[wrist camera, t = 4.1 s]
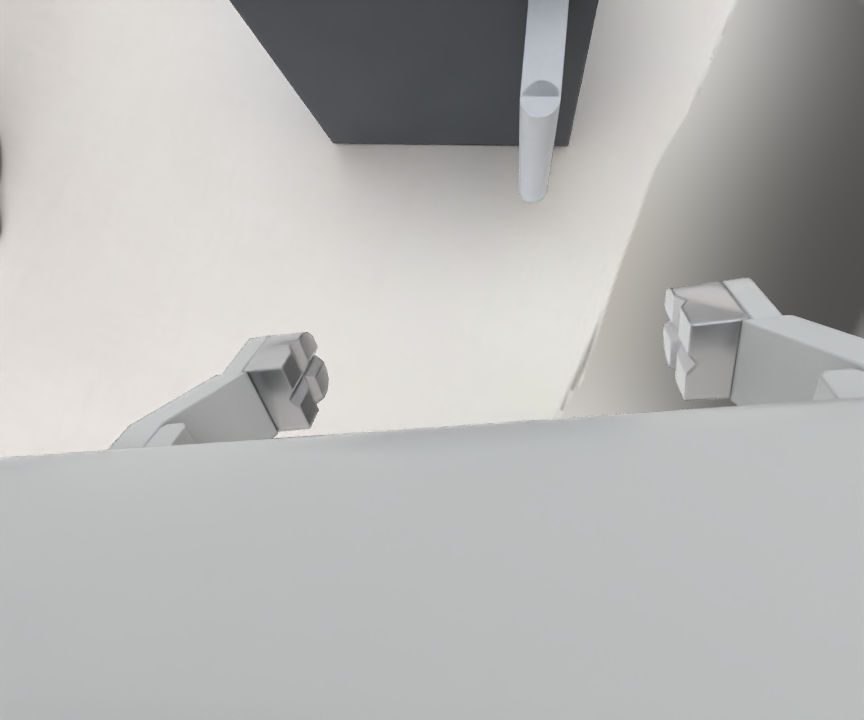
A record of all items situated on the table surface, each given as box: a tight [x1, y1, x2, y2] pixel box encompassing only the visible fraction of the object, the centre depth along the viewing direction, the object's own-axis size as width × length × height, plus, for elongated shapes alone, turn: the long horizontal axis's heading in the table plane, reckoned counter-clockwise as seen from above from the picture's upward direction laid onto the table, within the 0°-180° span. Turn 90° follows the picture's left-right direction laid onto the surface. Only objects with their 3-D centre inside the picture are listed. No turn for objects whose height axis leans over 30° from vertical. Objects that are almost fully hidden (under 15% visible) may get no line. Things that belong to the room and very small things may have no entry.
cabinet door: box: [230, 0, 598, 203], centre depth 25 cm, size 6×16×17 cm, turn 84°
